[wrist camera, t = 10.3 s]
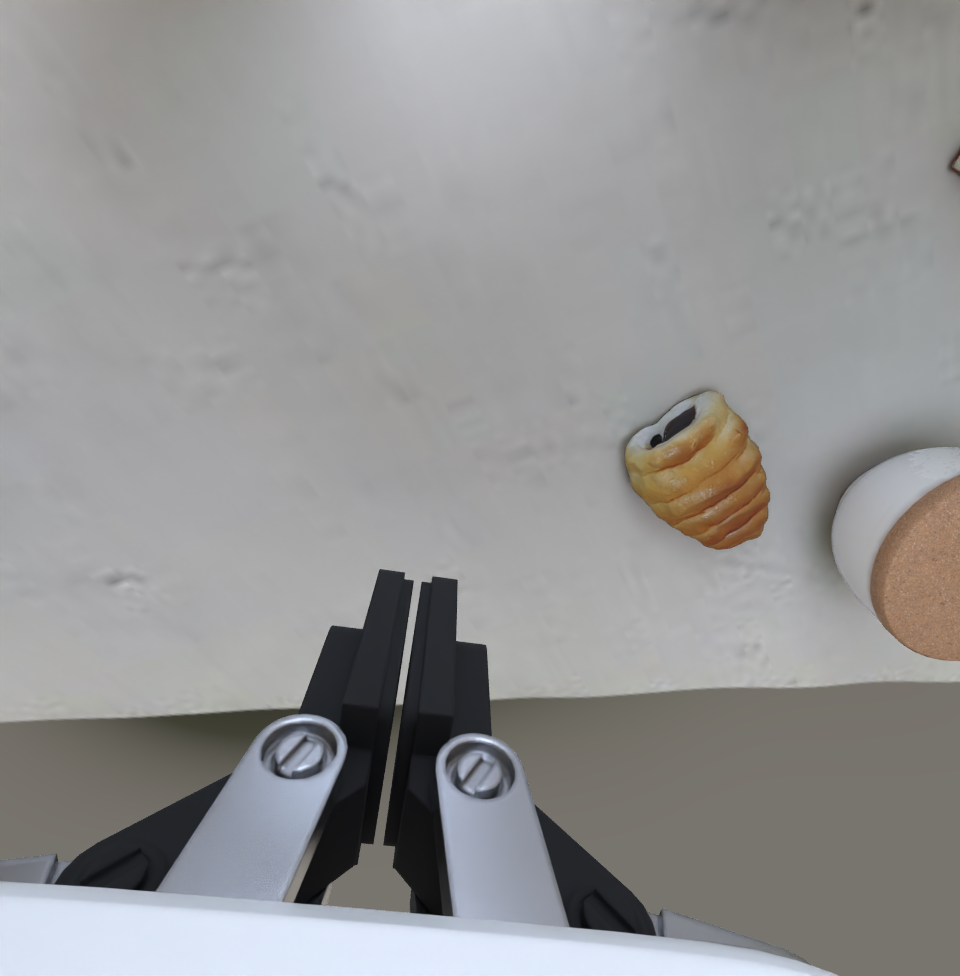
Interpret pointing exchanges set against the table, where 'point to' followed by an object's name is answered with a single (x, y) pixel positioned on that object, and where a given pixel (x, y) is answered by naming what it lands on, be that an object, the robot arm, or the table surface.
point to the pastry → (701, 472)
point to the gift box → (957, 164)
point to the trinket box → (906, 547)
